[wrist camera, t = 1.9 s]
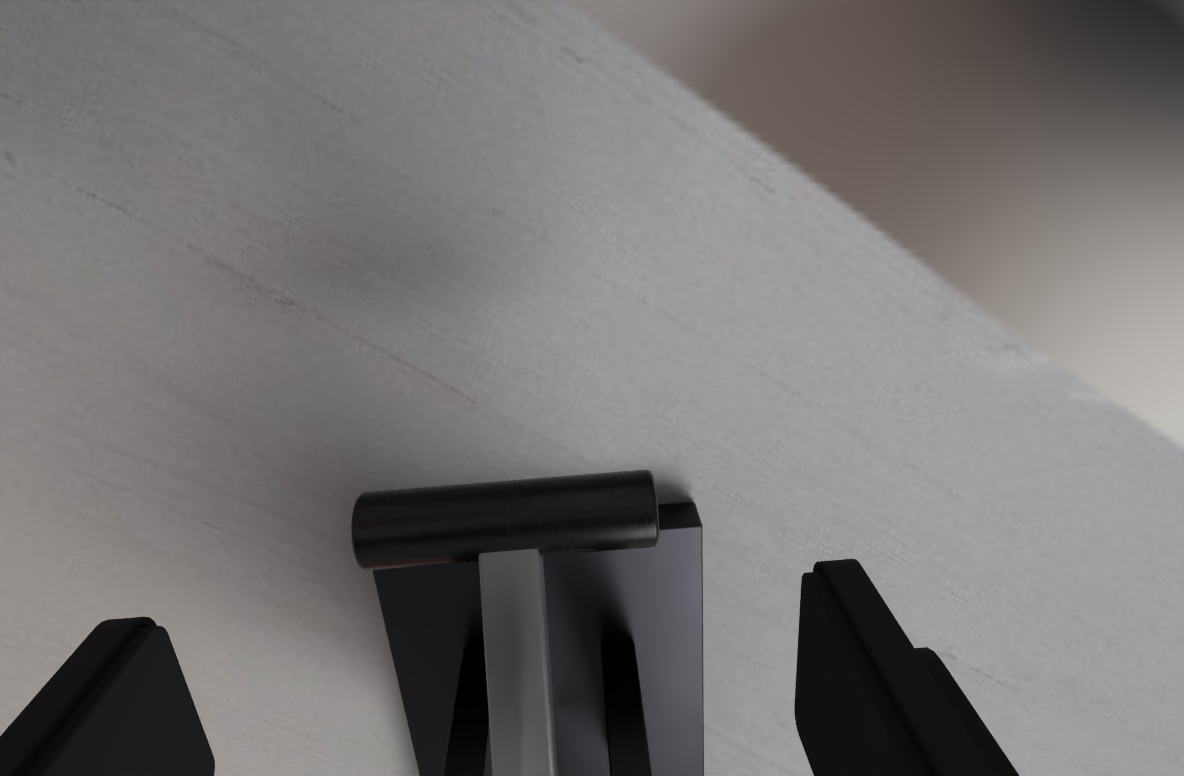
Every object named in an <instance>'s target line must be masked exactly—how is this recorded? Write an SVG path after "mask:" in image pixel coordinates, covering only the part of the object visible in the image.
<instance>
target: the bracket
mask: <svg viewBox="0 0 1184 776" xmlns="http://www.w3.org/2000/svg"><path fill="white" fill-rule="evenodd" d="M658 517H659V541H658V544H657V546H655V547H649V548H636V549H624V550H612V551H599V552H587V553H575V554H562V555H550V556H543V568H544V581H545V595H546V609H547V623H548V637H549V651H550V665H551V678H552V692H553V706H554V720H555V734H556V748H557V762H558V775H559V776H704V722H703V564H702V524H701V521H700V517H699V514H698V511H697V508H696V505H695V503H694V502H690V503H678V504H665V505H658ZM373 575H374V579H375V583H376V588H377V592H378V596H379V601H380V605H381V609H382V614H383V618H384V622H385V627H386V631H387V635H388V640H389V644H390V648H391V653H392V657H393V661H394V666H395V670H396V674H397V679H398V683H399V687H400V692H401V696H402V700H403V705H404V709H405V713H406V718H407V722H408V726H409V731H410V735H411V739H412V744H413V748H414V752H415V757H416V761H417V765H418V770H419V774H420V776H493V772H492V757H491V741H490V726H489V711H488V695H487V680H486V664H485V649H484V634H483V618H482V603H481V587H480V572H479V561H476V562H464V563H452V564H439V565H427V566H415V567H402V568H390V569H378V570H373Z"/></svg>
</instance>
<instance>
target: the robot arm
mask: <svg viewBox="0 0 1184 776" xmlns="http://www.w3.org/2000/svg"><path fill="white" fill-rule="evenodd" d="M795 720H796V726H797V730H798V733H799V736H800V739H801V742H802V745H803V747H804V750H805V753H806V755H807V758H808V761H809V763H810V766H811V769H812V771H813V774H814V776H1019V775H1018V773H1017V772H1016V770H1015V769H1014V767H1013V766H1012V764H1011V763H1010V761H1009V760H1008V758H1007V757H1006V755H1005V754H1004V752H1003V751H1002V749H1001V748H1000V746H999V745H998V743H997V742H996V740H995V739H994V738H993V736H992V735H991V733H990V732H989V730H988V729H987V727H986V726H985V724H984V723H983V721H982V720H981V718H980V717H979V715H978V714H977V712H976V711H975V709H974V708H973V706H972V705H971V703H970V702H969V701H968V699H967V698H966V696H965V695H964V693H963V692H962V690H961V689H960V687H959V686H958V684H957V683H956V681H955V680H954V678H953V677H952V675H951V674H950V672H949V671H948V669H947V668H946V666H945V665H944V664H943V662H942V661H941V659H940V658H939V657H938V656H937V655H936V653H935V652H934V651H932V650H931V649H929V648H927V647H926V648H914V647H913V645H912V644H911V642H910V641H909V639H908V638H907V636H906V635H905V633H904V631H903V630H902V628H901V627H900V625H899V624H898V622H897V621H896V619H895V617H894V616H893V614H892V613H891V611H890V610H889V608H888V607H887V605H886V603H885V602H884V600H883V599H882V597H881V596H880V594H879V592H878V591H877V589H876V588H875V586H874V585H873V583H872V582H871V580H870V578H869V577H868V575H867V574H866V572H865V571H864V569H863V568H862V566H861V564H860V563H859V562H858V561H857V560H855V559H845V560H833V561H821V562H816V563H815V565H814V568H813V572H810V573H804V574H803V576H802V581H801V599H800V618H799V636H798V654H797V673H796V691H795ZM214 770H215V761H214V757H213V754H212V751H211V748H210V746H209V743H208V740H207V738H206V735H205V732H204V730H203V727H202V724H201V721H200V719H199V716H198V713H197V711H196V708H195V705H194V703H193V700H192V697H191V694H190V692H189V689H188V686H187V684H186V681H185V678H184V676H183V673H182V670H181V667H180V665H179V662H178V659H177V657H176V654H175V651H174V649H173V646H172V643H171V640H170V638H169V635H168V633H167V631H166V629H165V628H163V627H162V626H157V625H156V623H155V621H153V620H152V619H151V618H149V617H136V618H124V619H112V620H106V621H103V622H101V623H100V624H99V625H98V626H96V627H95V628H94V630H93V631H92V632H91V633H90V634H89V635H88V636H87V638H86V639H85V640H84V641H83V642H82V643H81V644H80V646H79V647H78V648H77V649H76V650H75V651H74V653H73V654H72V655H71V656H70V657H69V658H68V659H67V661H66V662H65V663H64V664H63V665H62V666H61V667H60V669H59V670H58V671H57V672H56V673H55V674H54V675H53V677H52V678H51V679H50V680H49V681H48V682H47V683H46V685H45V686H44V687H43V688H42V689H41V690H40V691H39V693H38V694H37V695H36V696H35V697H34V698H33V700H32V701H31V702H30V703H29V704H28V705H27V706H26V708H25V709H24V710H23V711H22V712H21V713H20V714H19V716H18V717H17V718H16V719H15V720H14V721H13V722H12V724H11V725H10V726H9V727H8V728H7V729H6V730H5V732H4V733H3V734H2V735H1V736H0V776H214Z"/></svg>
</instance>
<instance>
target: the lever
mask: <svg viewBox="0 0 1184 776" xmlns="http://www.w3.org/2000/svg"><path fill="white" fill-rule="evenodd" d="M351 533H352V545H353V550H354V554H355V558H356V560H357V563H358V565H359V566H360V567H361V568H362V569H365V570H378V569H390V568H402V567H415V566H427V565H439V564H452V563H464V562H476V561H479V572H480V587H481V603H482V618H483V634H484V649H485V664H486V680H487V695H488V711H489V726H490V741H491V757H492V772H493V776H559V775H558V762H557V748H556V734H555V720H554V706H553V692H552V678H551V665H550V651H549V637H548V623H547V609H546V595H545V581H544V568H543V556H550V555H562V554H575V553H587V552H599V551H612V550H624V549H636V548H649V547H655V546H657V544H658V541H659V517H658V505H657V496H656V489H655V483H654V478H653V475H652V473H651V471H649V470H637V471H625V472H612V473H600V474H587V475H575V476H562V477H550V478H537V479H524V480H512V481H499V482H487V483H474V484H462V485H449V486H437V487H424V488H412V489H399V490H386V491H374V492H365V493H363V494H361V495H359V497H358V498H357V500H356V503H355V506H354V510H353V515H352V526H351Z"/></svg>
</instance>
